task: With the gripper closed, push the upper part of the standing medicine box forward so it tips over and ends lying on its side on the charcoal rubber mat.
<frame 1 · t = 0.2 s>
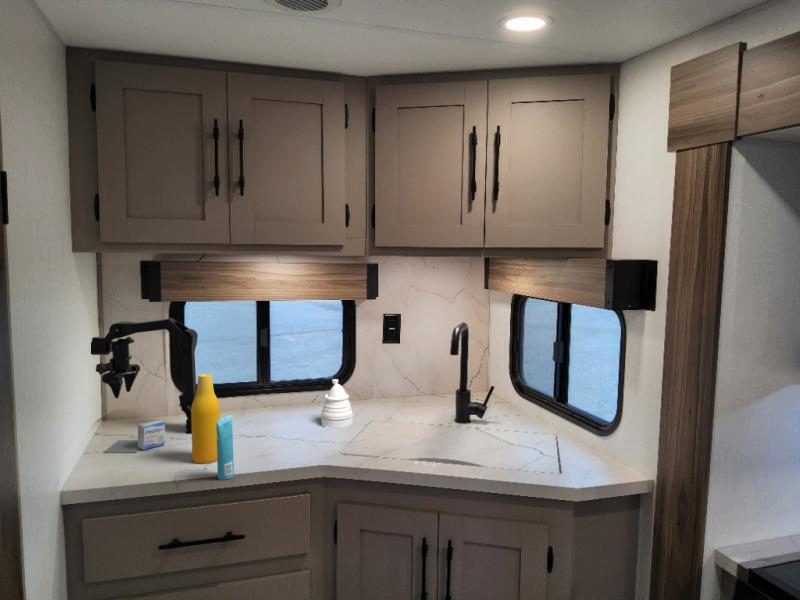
hand: (122, 394, 214), 14 cm above the worktop, tool pointing down, fingers open, 9 cm apart
tube: (225, 477, 174), on the worktop
rubber mat: (126, 446, 199), on the worktop
beer bottle: (206, 459, 189), on the worktop
medicine box: (151, 446, 199), on the worktop, touching rubber mat
honey pot: (337, 424, 228), on the worktop
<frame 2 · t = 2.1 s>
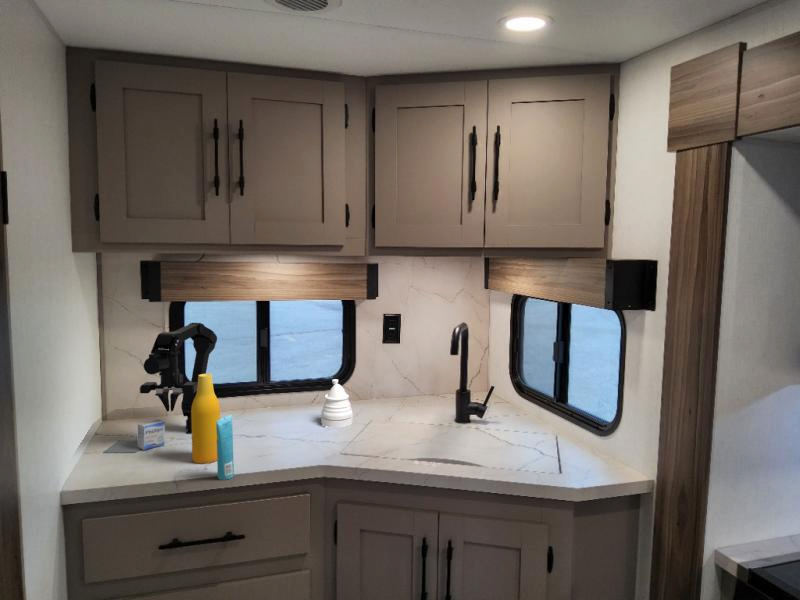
hand: (170, 411, 199), 13 cm above the worktop, tool pointing down, fingers closed
nothing on the worktop moved.
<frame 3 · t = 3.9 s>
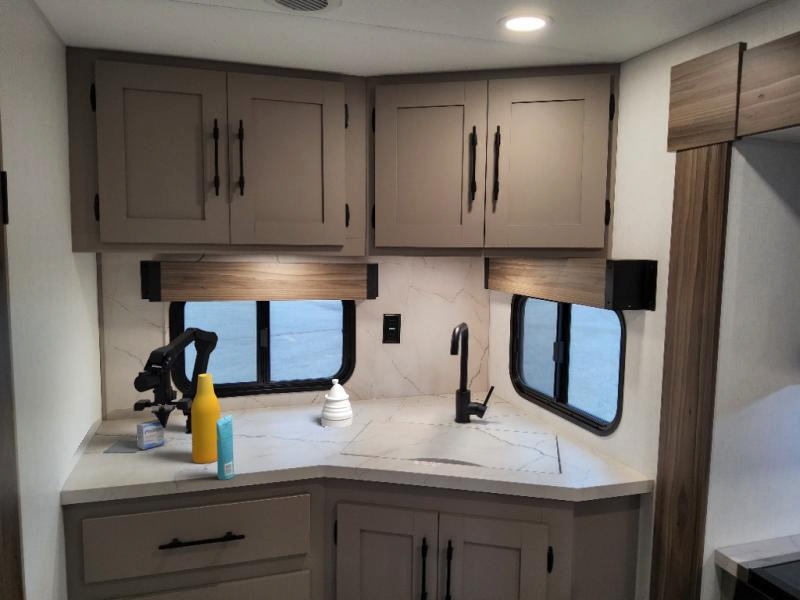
hand: (164, 428, 199), 7 cm above the worktop, tool pointing down, fingers closed
medicine box: (151, 446, 199), on the worktop, touching gripper, rubber mat
everything else where it was.
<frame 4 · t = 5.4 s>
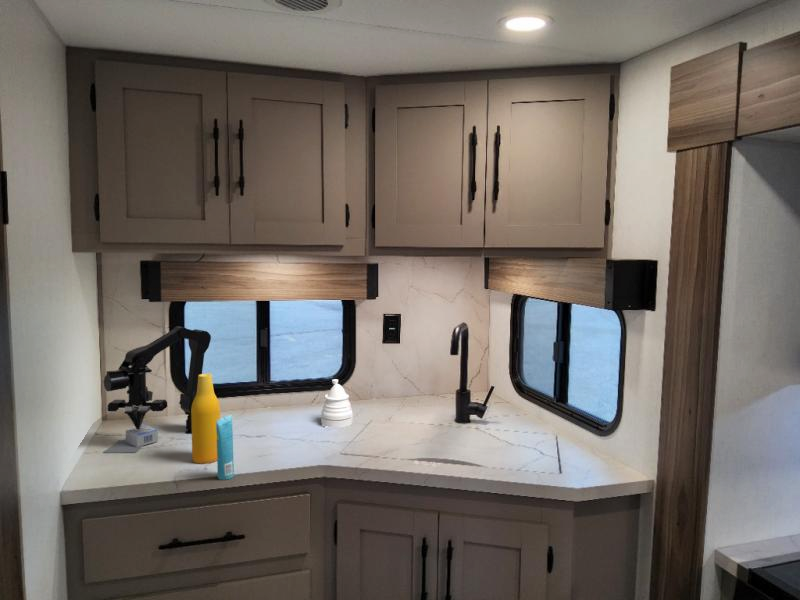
hand: (138, 428, 198), 7 cm above the worktop, tool pointing down, fingers closed
medicine box: (148, 438, 200), point 2 cm above the worktop, touching rubber mat
everything else where it was.
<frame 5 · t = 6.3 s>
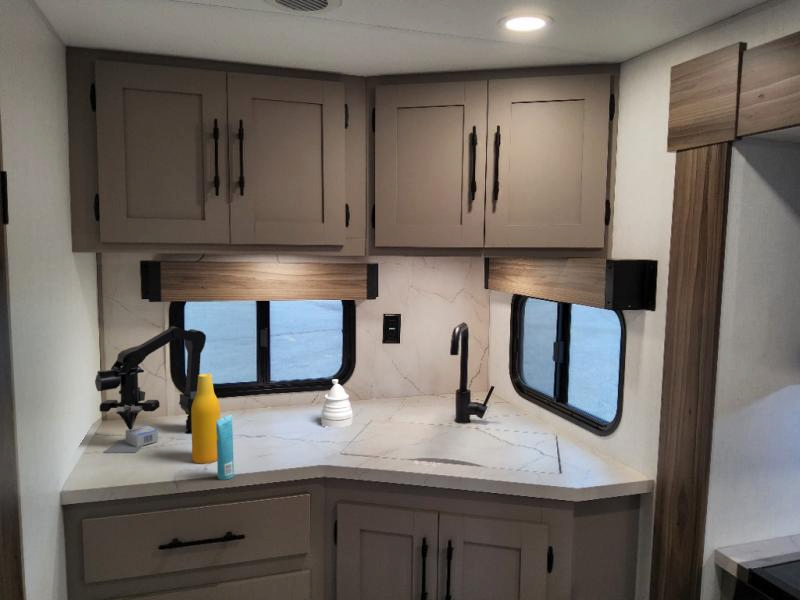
hand: (130, 429, 198), 7 cm above the worktop, tool pointing down, fingers closed
nothing on the worktop moved.
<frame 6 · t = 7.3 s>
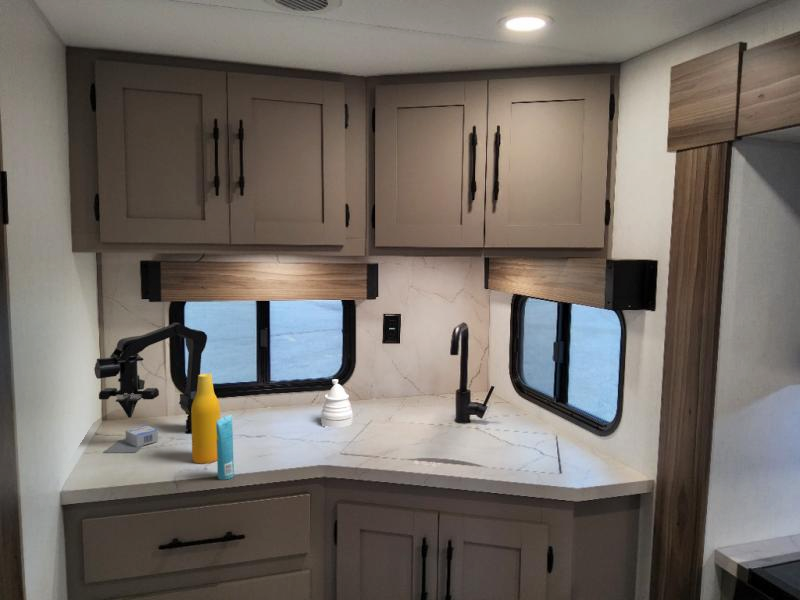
hand: (129, 417, 198), 11 cm above the worktop, tool pointing down, fingers closed
nothing on the worktop moved.
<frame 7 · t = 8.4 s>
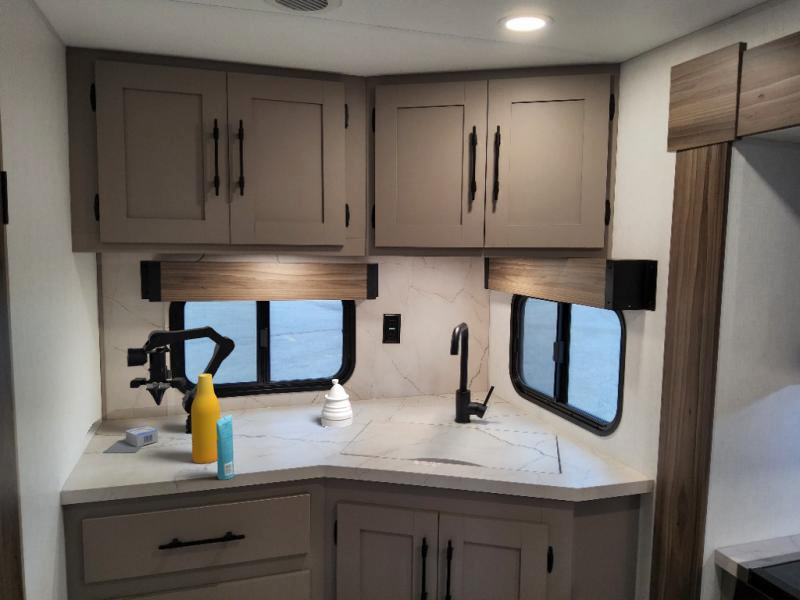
hand: (158, 405, 209), 12 cm above the worktop, tool pointing down, fingers closed
nothing on the worktop moved.
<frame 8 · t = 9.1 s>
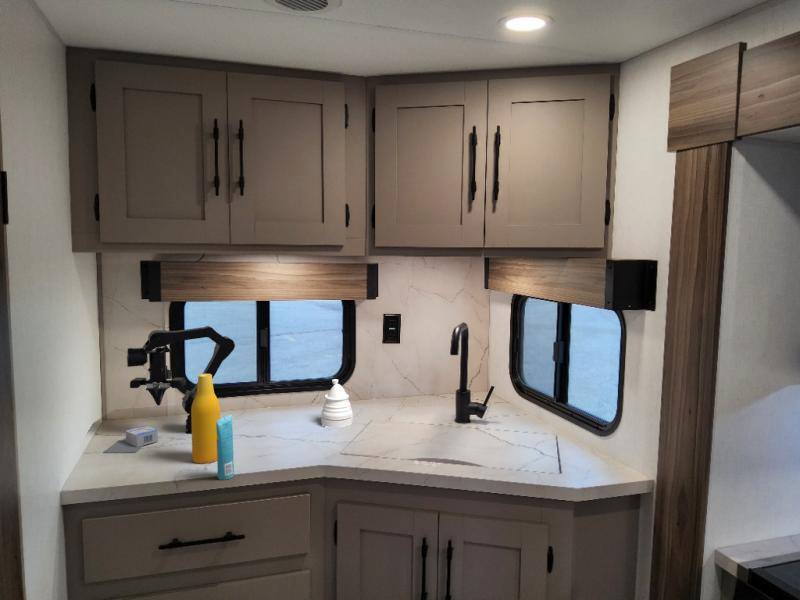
hand: (158, 405, 209), 12 cm above the worktop, tool pointing down, fingers closed
nothing on the worktop moved.
at the end: medicine box tilted 89°; medicine box touching rubber mat; medicine box inside the target area (3.3 cm from its centre), point 2.4 cm above the worktop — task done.
